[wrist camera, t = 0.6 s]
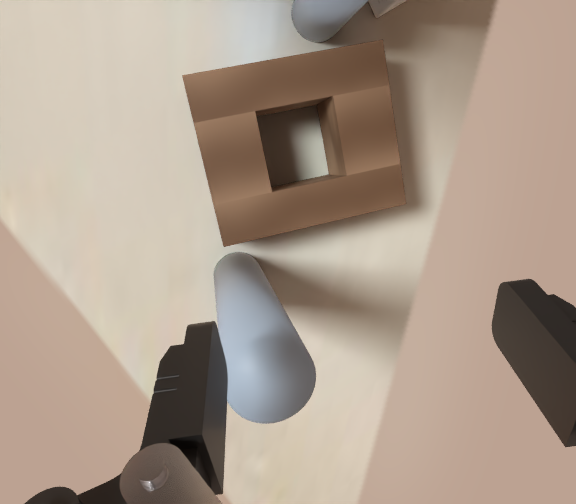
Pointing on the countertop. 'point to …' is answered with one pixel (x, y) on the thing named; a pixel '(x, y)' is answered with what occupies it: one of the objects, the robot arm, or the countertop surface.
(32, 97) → the countertop surface
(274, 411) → the long pin
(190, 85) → the socket block
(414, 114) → the countertop surface
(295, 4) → the short pin
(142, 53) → the countertop surface
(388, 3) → the skincare box
